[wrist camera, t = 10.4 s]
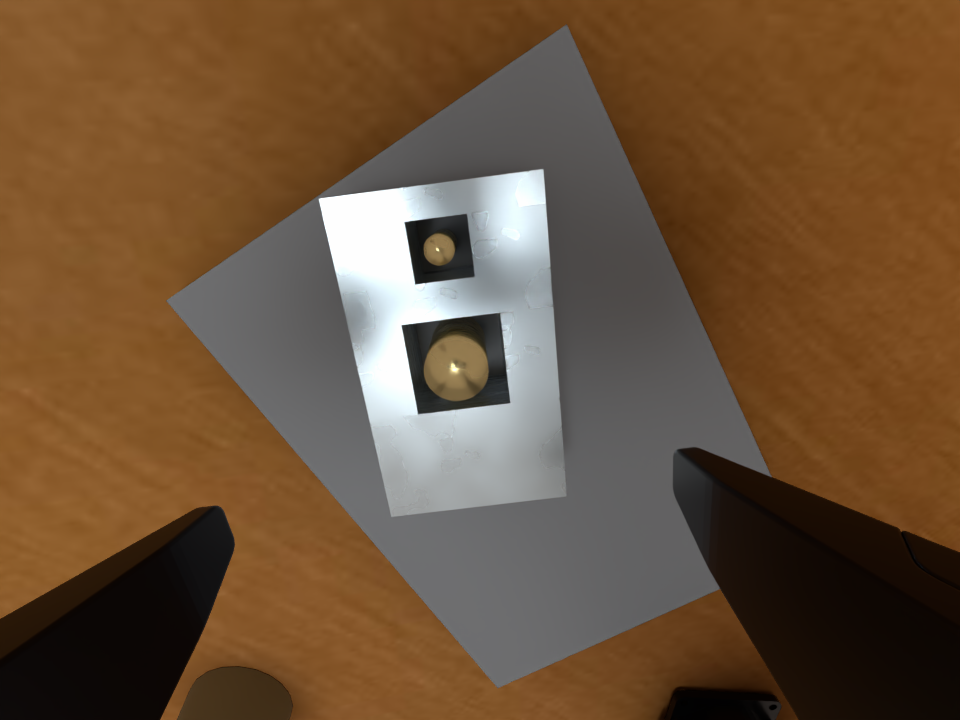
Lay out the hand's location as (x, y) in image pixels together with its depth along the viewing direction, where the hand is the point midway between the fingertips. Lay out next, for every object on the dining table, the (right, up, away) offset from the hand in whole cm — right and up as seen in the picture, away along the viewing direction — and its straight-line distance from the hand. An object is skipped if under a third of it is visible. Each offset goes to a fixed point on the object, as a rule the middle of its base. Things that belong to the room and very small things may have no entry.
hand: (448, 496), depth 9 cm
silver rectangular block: (0, +3, +10) cm, 10 cm away
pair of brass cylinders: (0, +5, +9) cm, 11 cm away
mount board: (+3, -1, +12) cm, 13 cm away
